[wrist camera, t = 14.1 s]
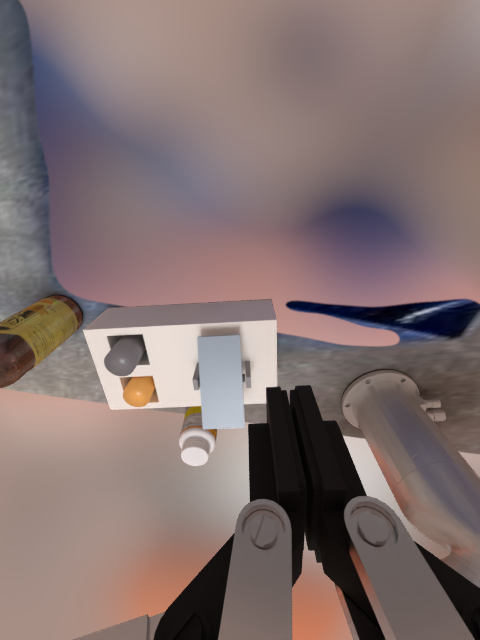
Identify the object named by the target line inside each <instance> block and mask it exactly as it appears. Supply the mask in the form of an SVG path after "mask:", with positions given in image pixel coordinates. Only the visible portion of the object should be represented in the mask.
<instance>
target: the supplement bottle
mask: <svg viewBox="0 0 480 640" xmlns="http://www.w3.org/2000/svg"><path fill="white" fill-rule="evenodd" d="M216 435H217V429H203V425H202V409H201V406H189V407H187V410H186V414H185V418H184V422H183V425H182V430H181V433H180V437H179V446H180V448H181V449H182V452H181V458H182V460H183V461H184V462H185V463H187V464H188V465H192V466H200V465H203V464H205V463H206V462H207V460H208V457H209V453H211V452H212V451H213V449H214V448H215V444H216Z"/></svg>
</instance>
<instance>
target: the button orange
mask: <svg viewBox="0 0 480 640" xmlns="http://www.w3.org/2000/svg"><path fill="white" fill-rule="evenodd" d="M154 389H155V383H154V379H153V376H139V377H132V378H131V380H130V381H129V383H128V385H127V386H126V388H125V390H124V392H123V398H124V400H125V402H126V403H128V404H129V405H131V406H134V407H143V406H145V405H147V404H148V403H149V401H150V398H151V396H152V394H153V392H154Z"/></svg>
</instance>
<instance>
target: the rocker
mask: <svg viewBox="0 0 480 640" xmlns="http://www.w3.org/2000/svg"><path fill="white" fill-rule="evenodd" d="M197 344H198V360H199V376H200V377H199V382H200V392H201V409H202V425H203V429H224V428H226V429H227V428H245V414H244V396H243V382H245V374H242V359H241V341H240V334H231V335H212V336H198V337H197Z"/></svg>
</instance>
